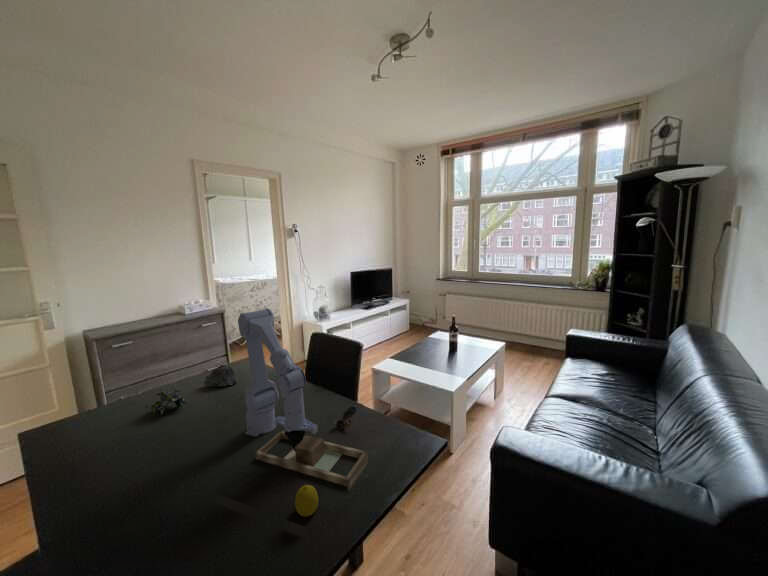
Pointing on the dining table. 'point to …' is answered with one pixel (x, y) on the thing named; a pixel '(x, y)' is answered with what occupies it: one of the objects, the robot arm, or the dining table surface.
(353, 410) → the eagle figurine
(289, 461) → the frame
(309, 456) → the walnut block
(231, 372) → the mineral rock
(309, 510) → the lemon
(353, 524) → the dining table surface
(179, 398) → the passion flower
